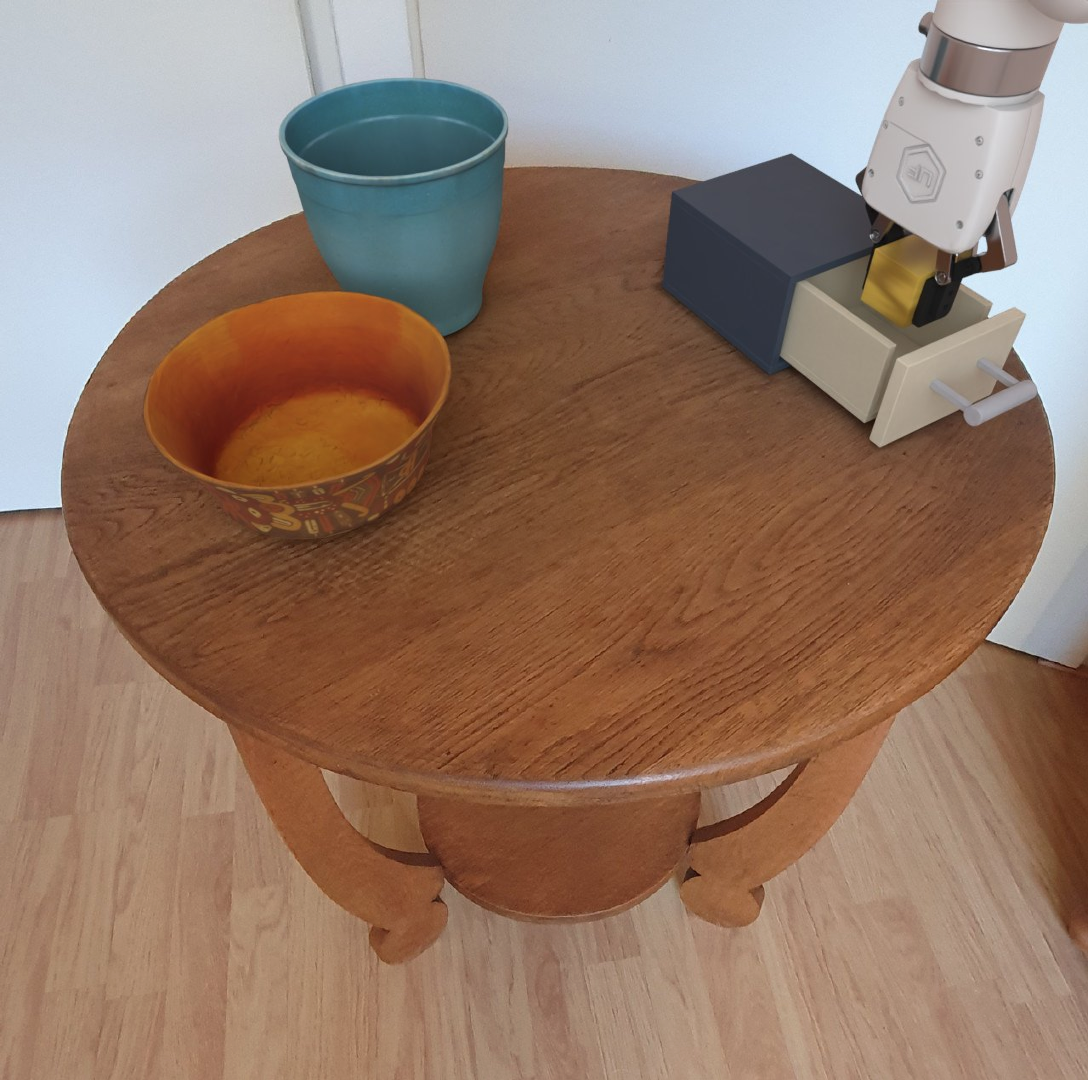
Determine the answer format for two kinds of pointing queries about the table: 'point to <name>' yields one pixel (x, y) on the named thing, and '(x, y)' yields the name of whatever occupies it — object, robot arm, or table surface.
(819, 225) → the cabinet
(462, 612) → the table surface
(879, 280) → the block
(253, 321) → the bowl
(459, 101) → the flower pot
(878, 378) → the drawer
